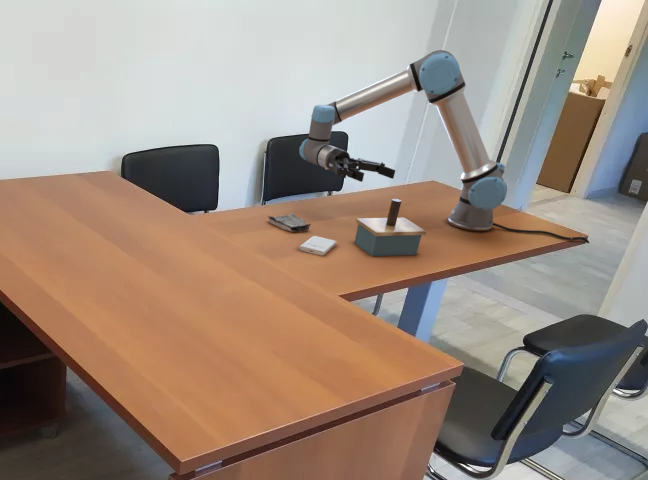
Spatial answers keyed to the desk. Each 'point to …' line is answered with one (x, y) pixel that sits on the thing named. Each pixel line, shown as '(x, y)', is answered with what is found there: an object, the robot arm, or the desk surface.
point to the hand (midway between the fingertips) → (378, 175)
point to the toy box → (386, 243)
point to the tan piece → (391, 223)
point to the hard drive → (317, 245)
